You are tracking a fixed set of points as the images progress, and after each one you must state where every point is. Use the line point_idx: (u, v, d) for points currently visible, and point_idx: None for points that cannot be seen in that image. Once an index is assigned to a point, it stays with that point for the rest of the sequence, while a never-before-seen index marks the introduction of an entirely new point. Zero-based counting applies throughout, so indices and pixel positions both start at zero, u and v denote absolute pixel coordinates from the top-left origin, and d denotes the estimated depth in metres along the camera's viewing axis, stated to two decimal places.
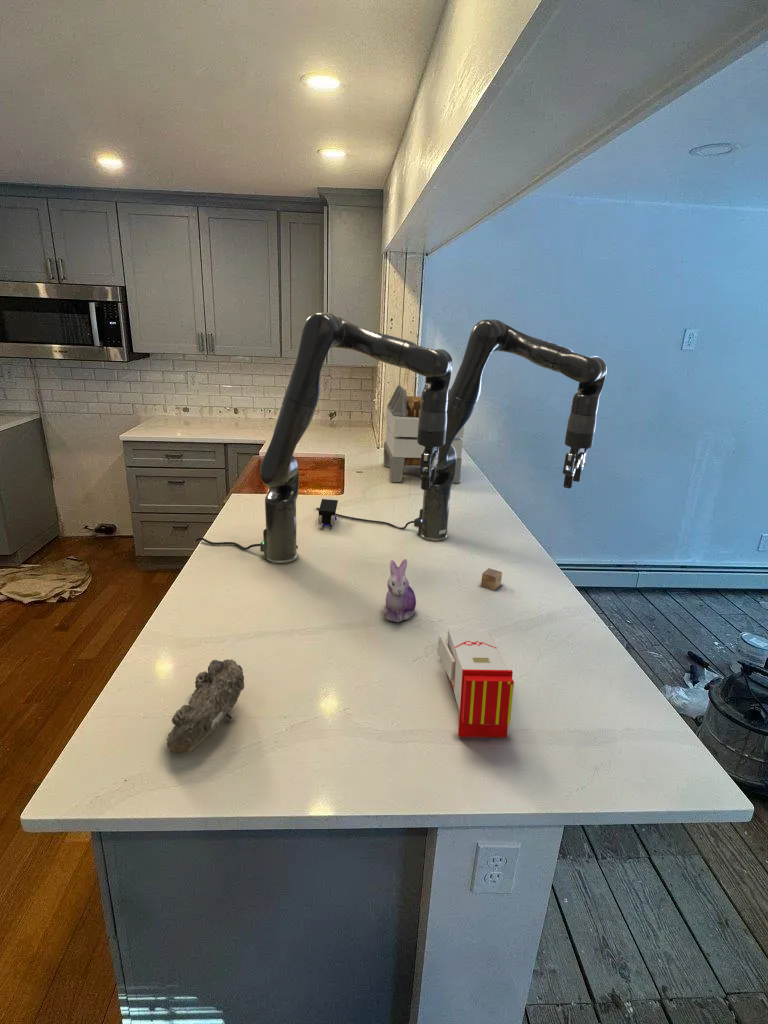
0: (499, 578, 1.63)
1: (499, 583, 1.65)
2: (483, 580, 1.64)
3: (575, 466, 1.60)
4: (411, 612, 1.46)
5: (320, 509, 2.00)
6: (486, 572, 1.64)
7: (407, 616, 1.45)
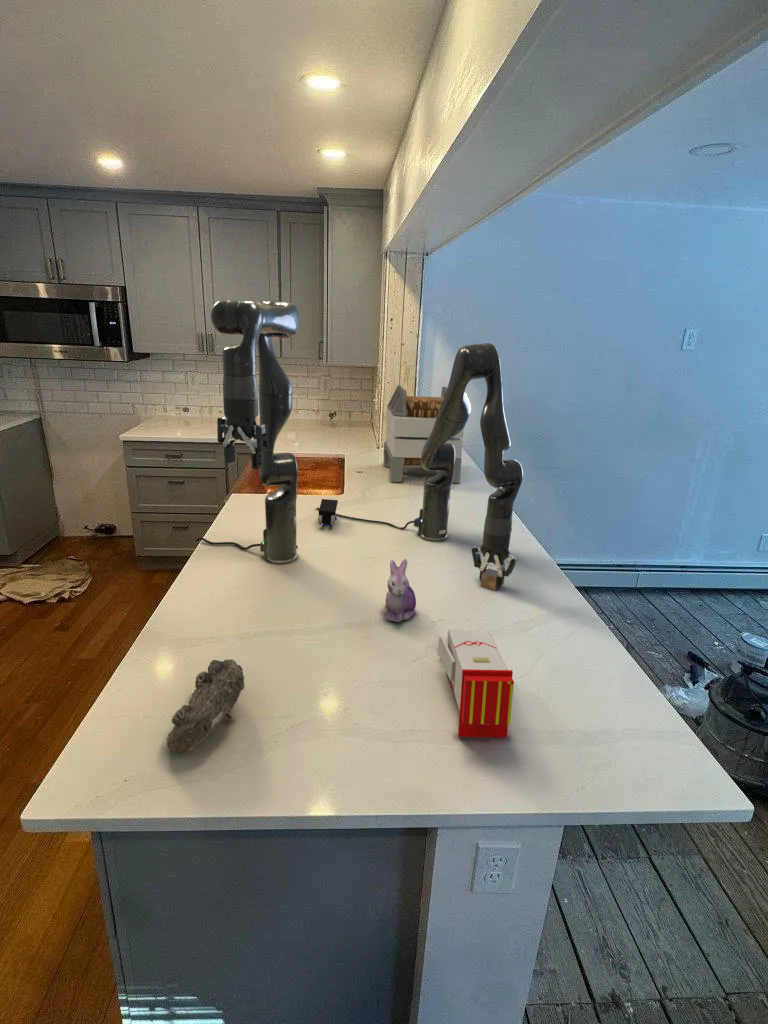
0: None
1: None
2: (483, 580, 1.64)
3: (504, 565, 1.62)
4: (411, 612, 1.46)
5: (320, 509, 2.00)
6: (486, 572, 1.64)
7: (407, 616, 1.45)
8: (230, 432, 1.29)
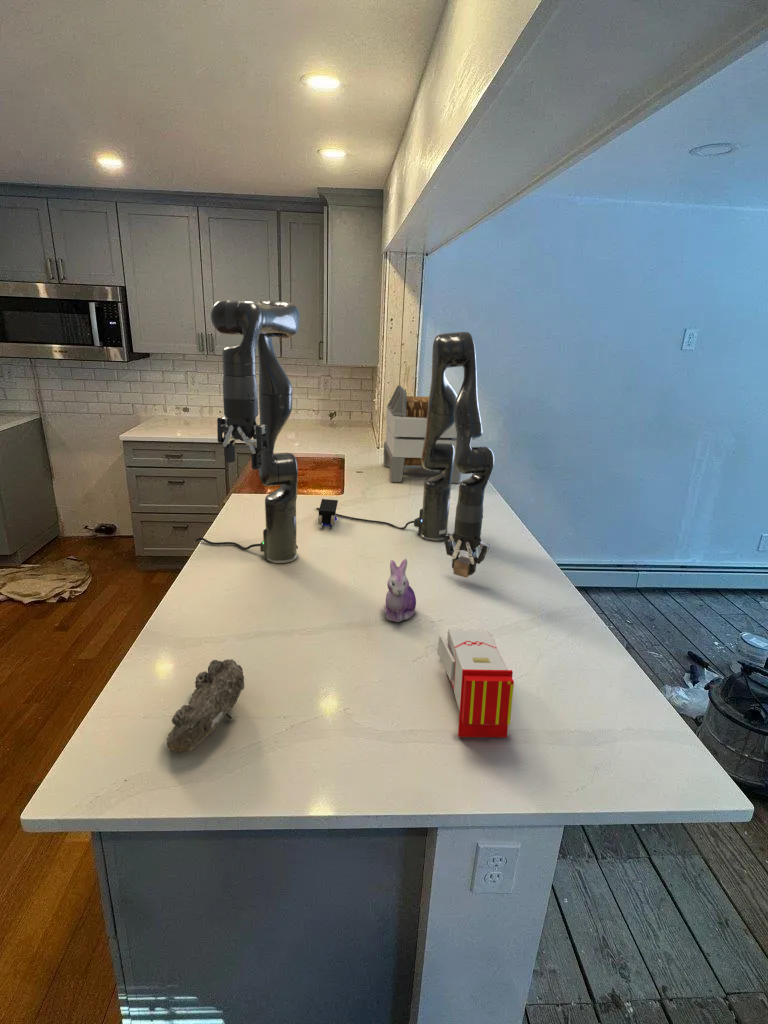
0: None
1: None
2: (455, 568, 1.63)
3: (476, 552, 1.62)
4: (411, 612, 1.46)
5: (320, 509, 2.00)
6: (458, 560, 1.63)
7: (407, 616, 1.45)
8: (230, 432, 1.29)
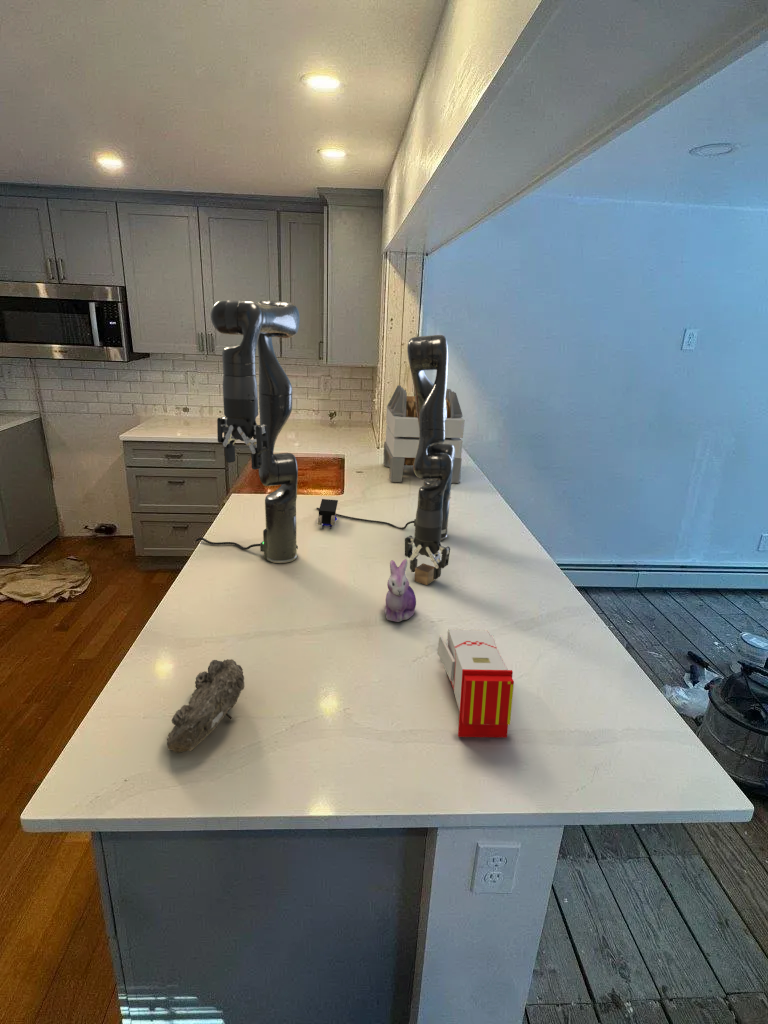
0: (432, 573, 1.65)
1: None
2: (416, 575, 1.65)
3: (439, 556, 1.63)
4: (411, 612, 1.46)
5: (320, 509, 2.00)
6: (419, 567, 1.65)
7: (407, 616, 1.45)
8: (230, 432, 1.29)
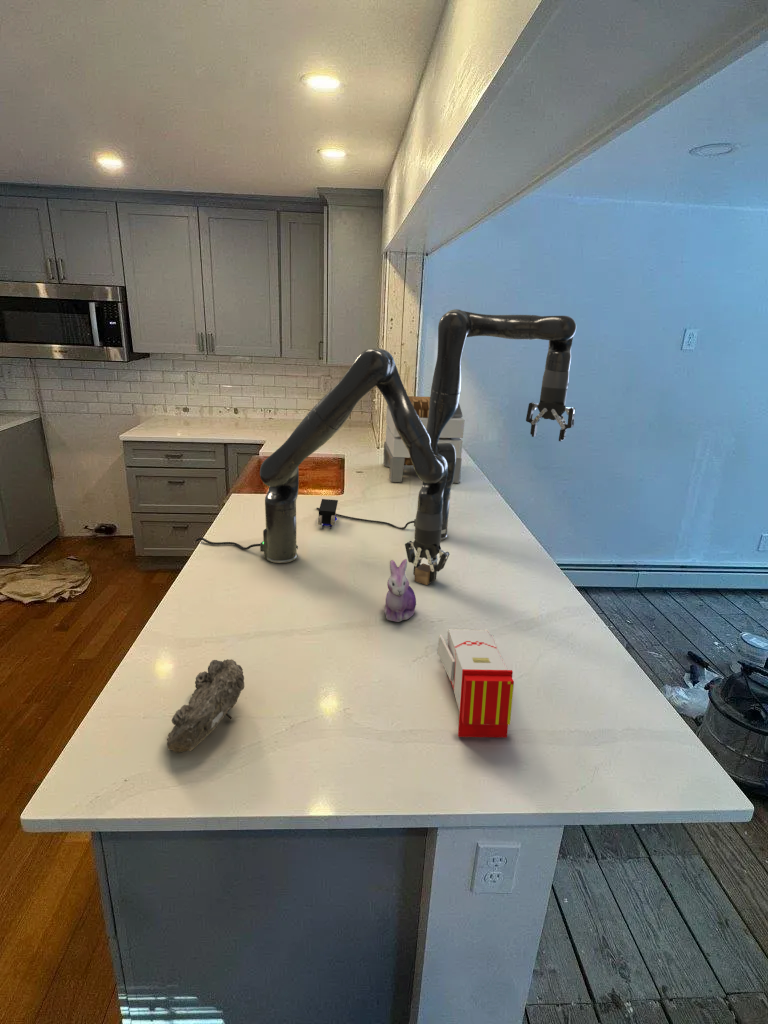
0: None
1: None
2: (416, 575, 1.65)
3: (564, 419, 1.72)
4: (411, 612, 1.46)
5: (320, 509, 2.00)
6: (419, 567, 1.65)
7: (407, 616, 1.45)
8: (417, 552, 1.63)
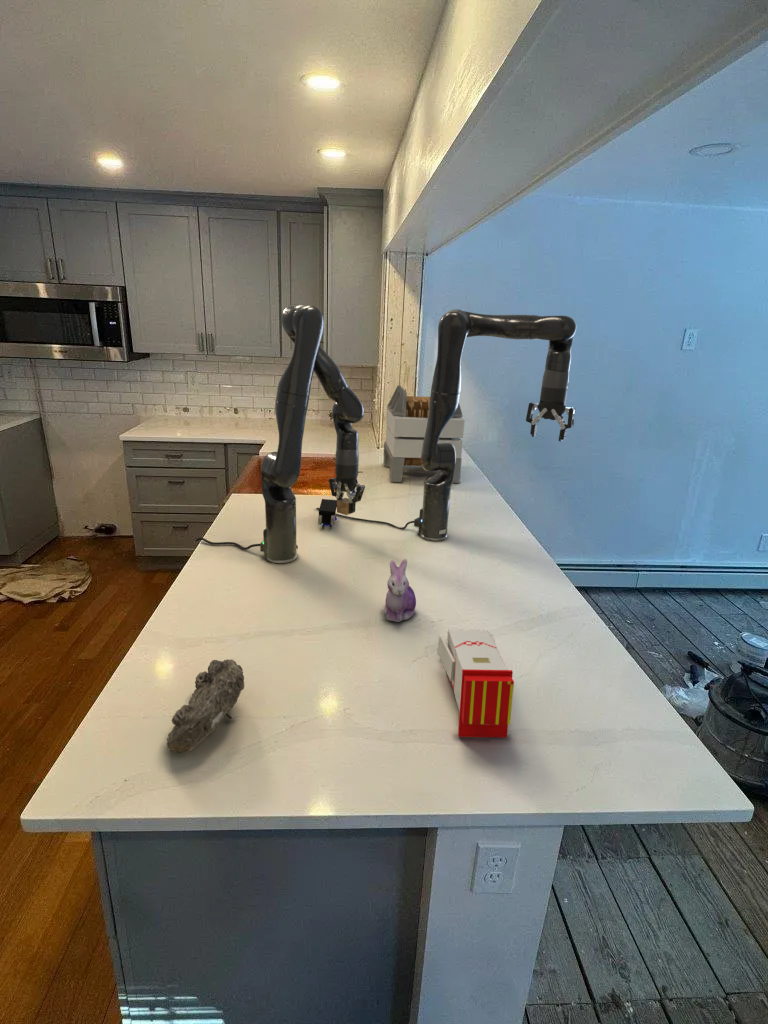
0: None
1: None
2: (338, 507, 1.88)
3: (564, 419, 1.72)
4: (411, 612, 1.46)
5: (320, 509, 2.00)
6: (340, 500, 1.88)
7: (407, 616, 1.45)
8: (338, 486, 1.86)
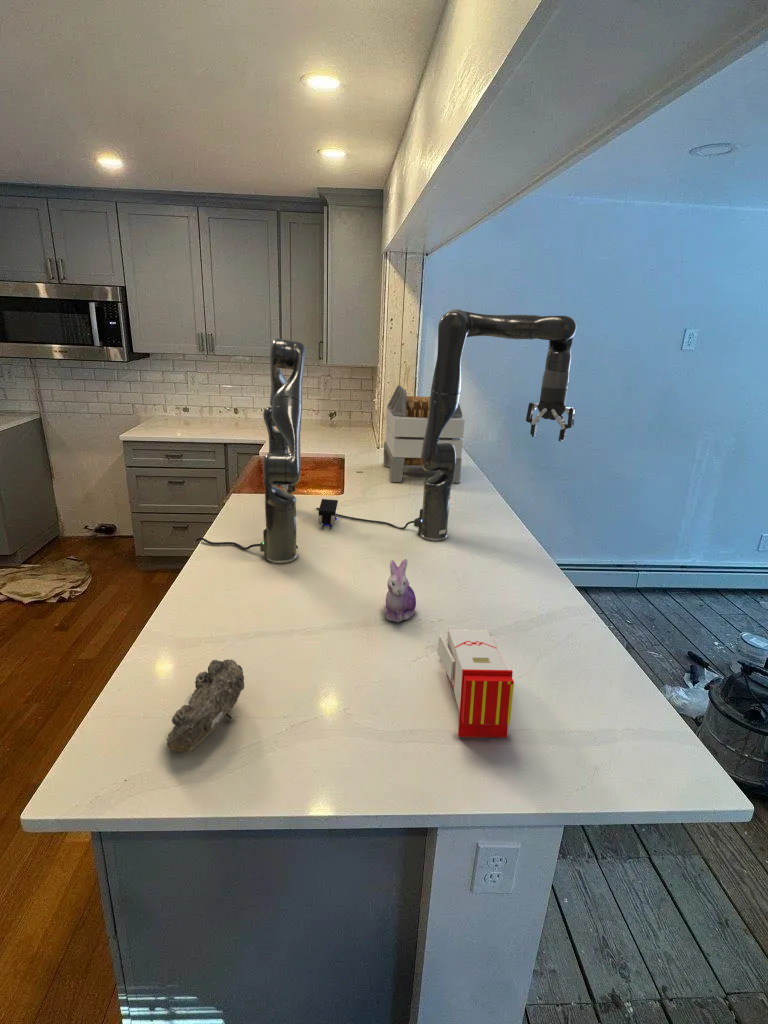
0: None
1: None
2: None
3: (564, 419, 1.72)
4: (411, 612, 1.46)
5: (320, 509, 2.00)
6: None
7: (407, 616, 1.45)
8: None
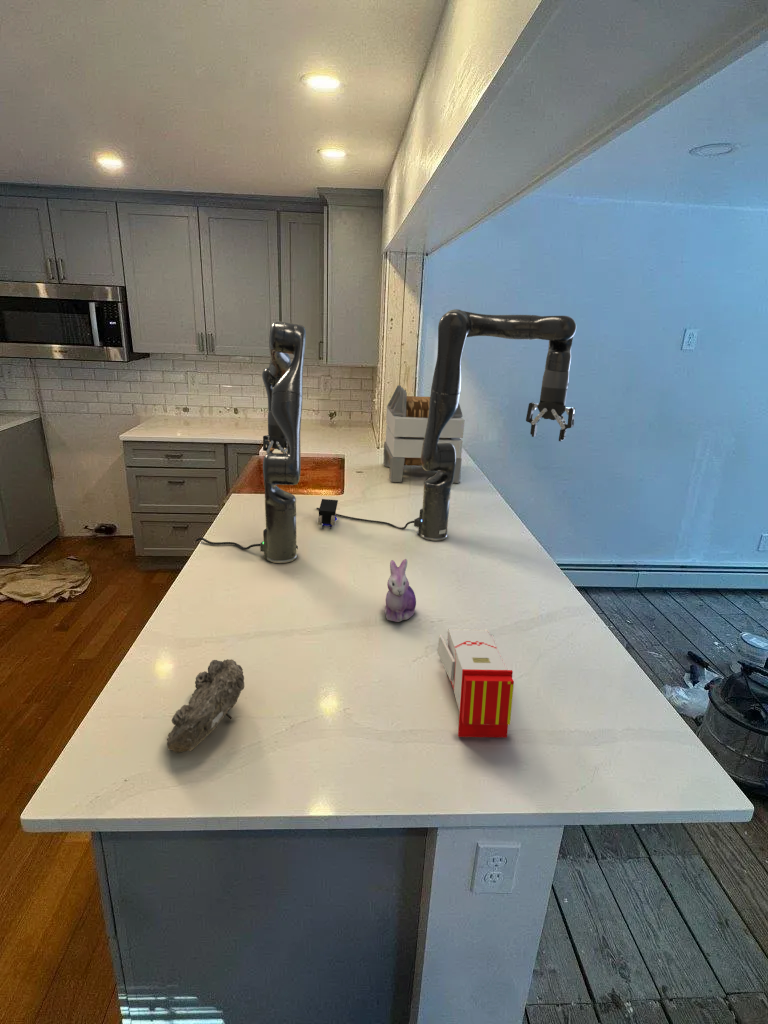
0: None
1: None
2: None
3: (564, 419, 1.72)
4: (411, 612, 1.46)
5: (320, 509, 2.00)
6: None
7: (407, 616, 1.45)
8: (271, 444, 2.14)
